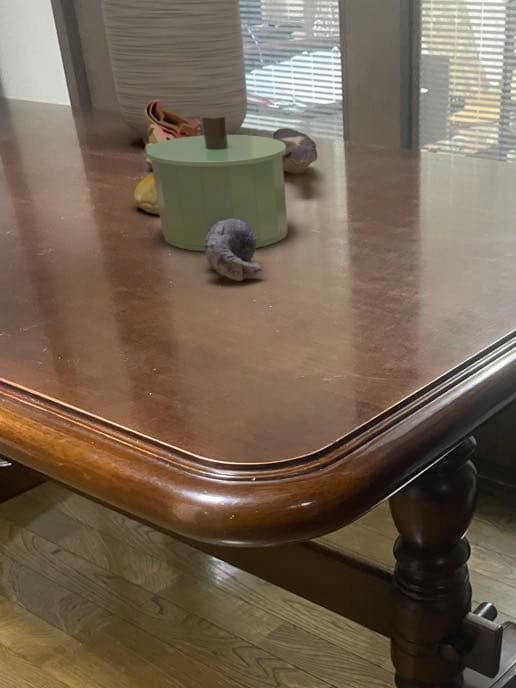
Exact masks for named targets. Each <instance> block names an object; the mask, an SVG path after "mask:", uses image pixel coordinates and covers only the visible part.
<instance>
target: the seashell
mask: <svg viewBox="0 0 516 688" xmlns="http://www.w3.org/2000/svg"><path fill="white" fill-rule="evenodd" d="M256 238H257V237H256V235H255V233H254V232H253V231H252V230H251V229H250V227H249V226H248V225H247V224H246V223H244V222H242V221H240V220H236V219H228V220H223V221H219V222H217V223H216V224H215V225H214V226H213V227H211V229H209V231H208V233H207V236H206V240H205V247H204V251H203V252H204V253H205V257H206V260H207V261H208V264H210V267H211V268H213V270H214V271H215V272H216V273H218V274H219V275H220V276H222V277H227V278H230V279H231V280H234V281H238V282H242V281H243V280H244V273H245V274H247V275H250V276H252V277H253V276H255V275H257V274H258V273H259V272H262V270H263V265H262V263H261V262H259V261H252V259H253V257H254V255H255V252H256V250H257V248H256Z"/></svg>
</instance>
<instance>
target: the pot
mask: <svg viewBox="0 0 516 688" xmlns="http://www.w3.org/2000/svg"><path fill="white" fill-rule="evenodd" d="M151 162H152V167H151V168H152V174H153V175H154V181H155V188H156V195H157V201H158V208H159V214H160V215H159V220H160V227H161V233H162V234H161V235H163V238H164V241H165V242H166V243H167V244H169V245H171V246H173V247H175V248H179V249H183V250H189V251H195V252H205V251H204V247H205V240H206V236H207V233H208V231H209V229H211V227H213V226H214V225H215V224H216V223H217V222H219V221H223V220H228V219H236V220H240V221H242V222H244V223H246V224H247V225H248V226H249V227H250V229H251V230H252V231H253V232H254V233H255V235H256V237H257V238H256V249H259V248H264V247H267V246H270V245H273V244H275V243H277V242H280V241H281V240H283V239H285V238H286V237H287V236H288V232H289V231H288V216H287V215H288V214H287V202H286V189H285V188H286V187H285V173H284V170H283V159H282V156H280V157H278V158H275V159H272V160H268V161H264V162H259V163H253V164H246V165H237V166H223V167H189V166H176V165H169V164H163V163H159V162H156V161H153V160H151Z"/></svg>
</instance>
